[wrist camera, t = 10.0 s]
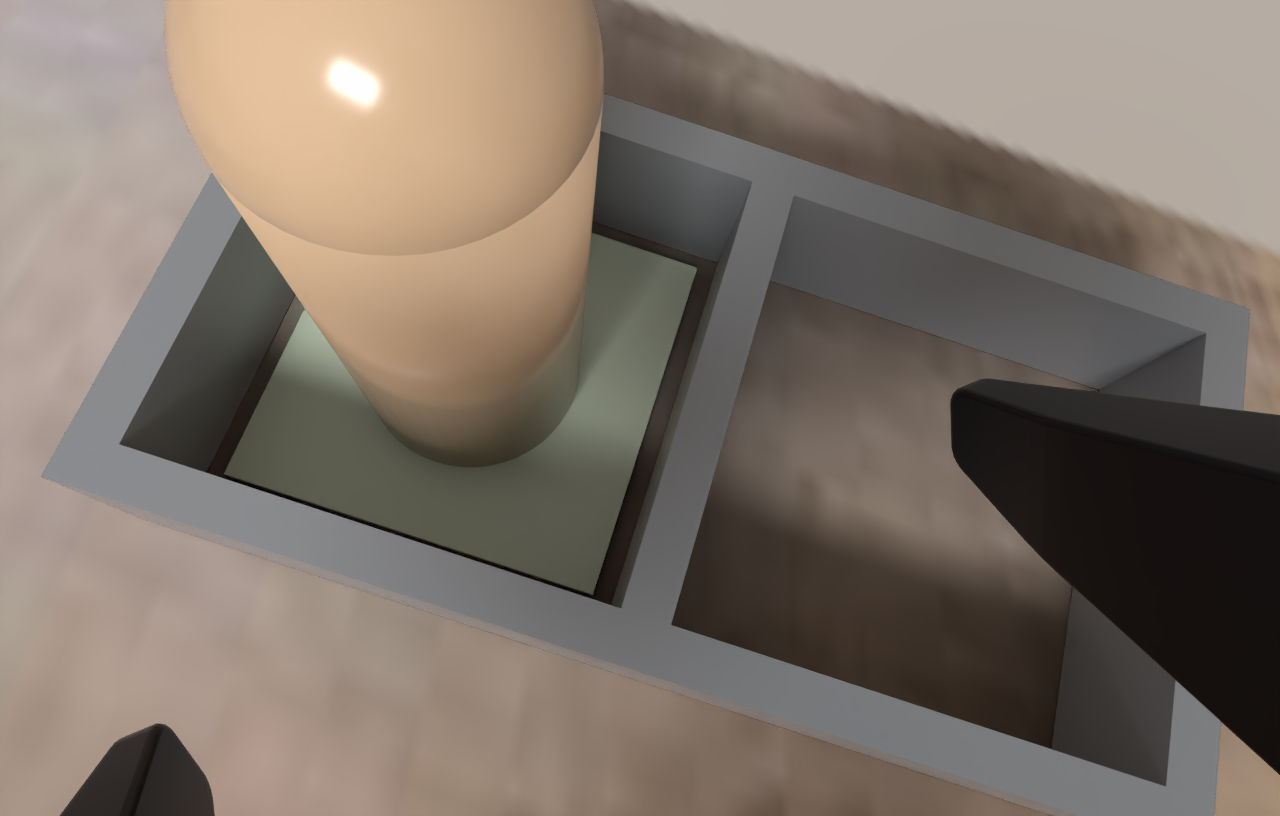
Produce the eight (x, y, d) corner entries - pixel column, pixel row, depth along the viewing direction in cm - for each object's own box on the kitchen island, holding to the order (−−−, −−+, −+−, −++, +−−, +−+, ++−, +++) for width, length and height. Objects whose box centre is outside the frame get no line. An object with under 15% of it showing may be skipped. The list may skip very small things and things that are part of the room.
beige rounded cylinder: (517, 504, 20) (456, 214, 7) (325, 407, 21) (-56, -36, 8) (614, 325, 22) (702, -169, 9) (434, 237, 22) (270, -368, 9)
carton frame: (1083, 825, 20) (1210, 858, 16) (136, 516, 20) (40, 476, 16) (1137, 369, 24) (1250, 308, 20) (347, 106, 24) (311, -5, 20)
